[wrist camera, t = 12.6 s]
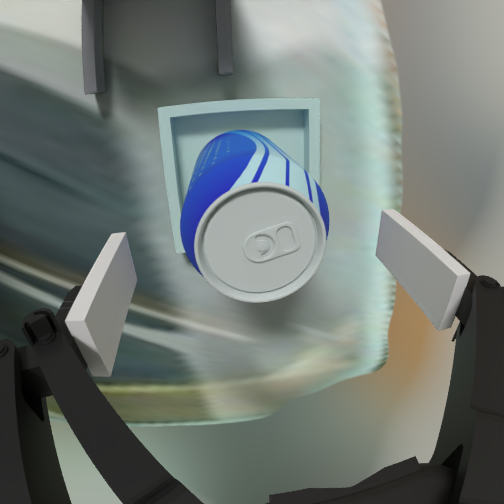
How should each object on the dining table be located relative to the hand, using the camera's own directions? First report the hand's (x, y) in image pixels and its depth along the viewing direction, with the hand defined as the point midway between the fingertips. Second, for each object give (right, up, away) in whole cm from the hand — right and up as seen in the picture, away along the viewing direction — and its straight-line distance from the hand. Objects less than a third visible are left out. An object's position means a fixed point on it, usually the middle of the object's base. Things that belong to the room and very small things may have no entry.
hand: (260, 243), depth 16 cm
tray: (-1, +7, +15) cm, 16 cm away
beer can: (-2, +7, +14) cm, 16 cm away
